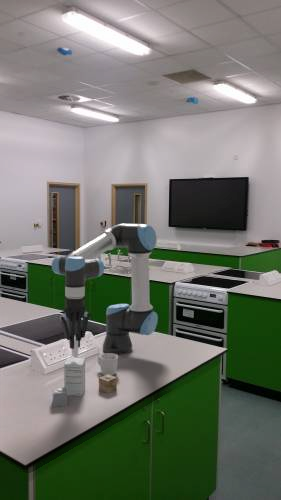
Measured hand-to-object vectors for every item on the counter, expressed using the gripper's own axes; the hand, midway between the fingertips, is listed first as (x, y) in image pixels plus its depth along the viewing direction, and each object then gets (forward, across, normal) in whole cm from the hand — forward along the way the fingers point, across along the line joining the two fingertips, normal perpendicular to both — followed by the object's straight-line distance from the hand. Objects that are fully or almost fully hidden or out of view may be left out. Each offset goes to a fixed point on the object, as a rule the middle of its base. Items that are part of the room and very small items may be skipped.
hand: (74, 356), depth 170 cm
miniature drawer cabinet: (+15, 0, 0) cm, 15 cm away
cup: (+15, -20, -10) cm, 27 cm away
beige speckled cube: (+15, -12, +5) cm, 20 cm away
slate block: (+15, +9, +6) cm, 18 cm away
